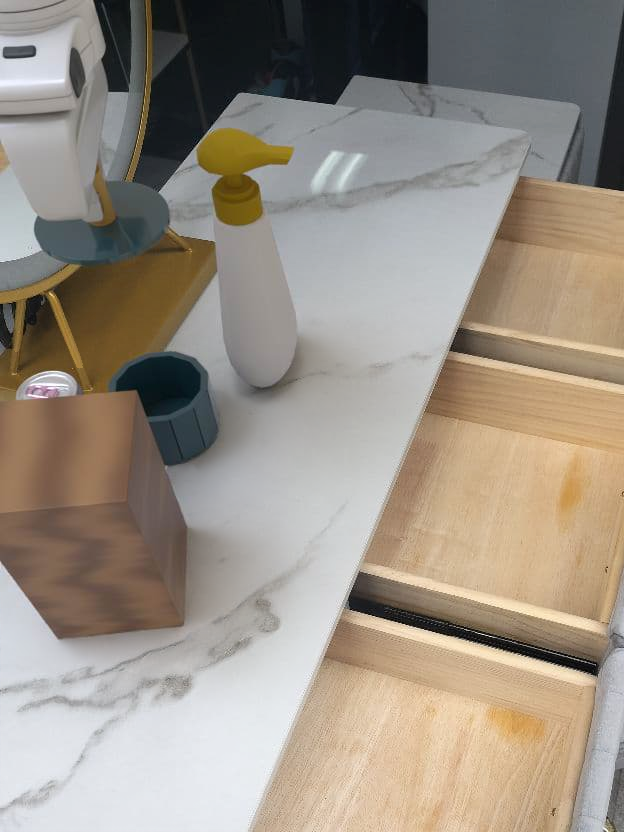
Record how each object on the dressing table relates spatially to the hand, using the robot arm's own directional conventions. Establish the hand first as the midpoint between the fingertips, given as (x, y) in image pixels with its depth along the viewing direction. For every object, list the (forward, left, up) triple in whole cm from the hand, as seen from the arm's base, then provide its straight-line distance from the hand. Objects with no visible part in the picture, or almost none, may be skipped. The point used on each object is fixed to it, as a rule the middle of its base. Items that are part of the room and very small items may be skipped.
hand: (96, 204), depth 70 cm
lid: (0, 0, -2) cm, 2 cm away
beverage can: (-8, -8, -29) cm, 31 cm away
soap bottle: (+12, +9, -29) cm, 32 cm away
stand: (-4, -20, -29) cm, 35 cm away
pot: (0, 0, -28) cm, 29 cm away
